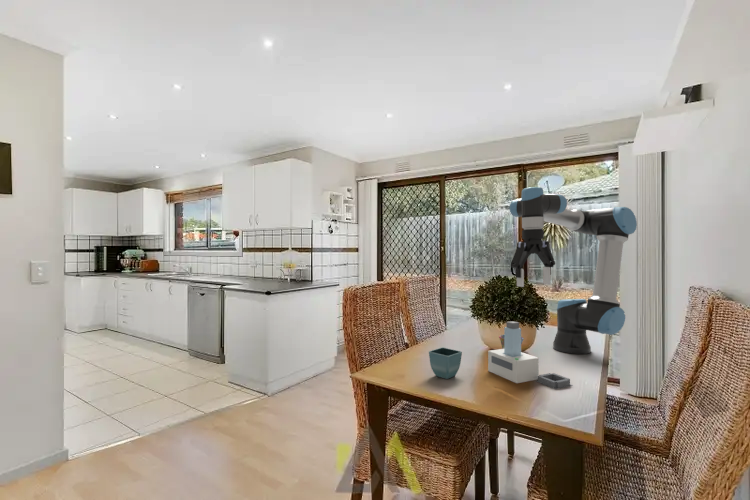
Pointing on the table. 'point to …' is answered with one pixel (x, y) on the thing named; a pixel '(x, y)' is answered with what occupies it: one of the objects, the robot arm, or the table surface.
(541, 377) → the holster
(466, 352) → the table surface
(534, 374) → the port panel
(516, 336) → the plug
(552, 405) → the table surface
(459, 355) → the flower pot
